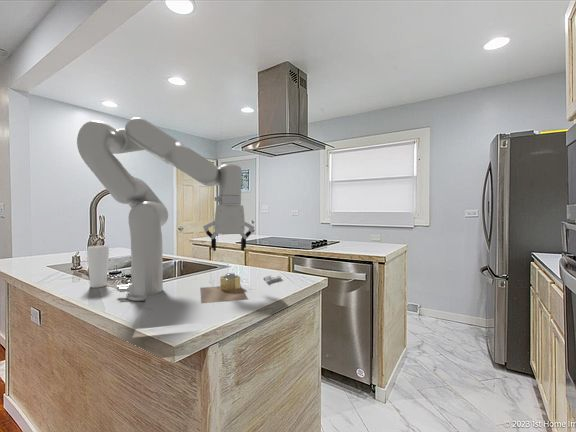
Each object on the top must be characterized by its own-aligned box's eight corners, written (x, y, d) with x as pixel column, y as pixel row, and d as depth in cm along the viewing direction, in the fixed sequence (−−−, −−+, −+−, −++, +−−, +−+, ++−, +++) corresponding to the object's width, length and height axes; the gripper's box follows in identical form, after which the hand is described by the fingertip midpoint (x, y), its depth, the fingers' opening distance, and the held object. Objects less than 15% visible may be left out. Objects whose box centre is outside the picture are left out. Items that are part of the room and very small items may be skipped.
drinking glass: (90, 284, 116) (90, 245, 115) (110, 283, 118) (110, 245, 117) (85, 289, 109) (84, 247, 109) (106, 288, 111) (105, 247, 111)
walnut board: (201, 308, 89) (201, 303, 89) (200, 291, 107) (200, 287, 107) (248, 304, 94) (248, 299, 93) (240, 289, 111) (240, 284, 111)
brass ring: (221, 291, 102) (221, 279, 101) (219, 286, 108) (219, 275, 108) (240, 290, 103) (241, 278, 103) (238, 285, 110) (238, 274, 110)
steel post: (226, 290, 104) (226, 275, 104) (225, 287, 107) (225, 273, 107) (235, 289, 105) (235, 274, 104) (234, 287, 108) (234, 273, 108)
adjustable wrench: (250, 296, 104) (250, 291, 104) (234, 293, 107) (234, 288, 106) (283, 280, 126) (283, 275, 126) (269, 278, 129) (269, 274, 129)
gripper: (204, 199, 99) (203, 252, 99) (256, 201, 104) (255, 251, 104) (203, 200, 106) (202, 249, 106) (252, 202, 111) (251, 248, 111)
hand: (228, 250), depth 105 cm, fingers open, 9 cm apart
